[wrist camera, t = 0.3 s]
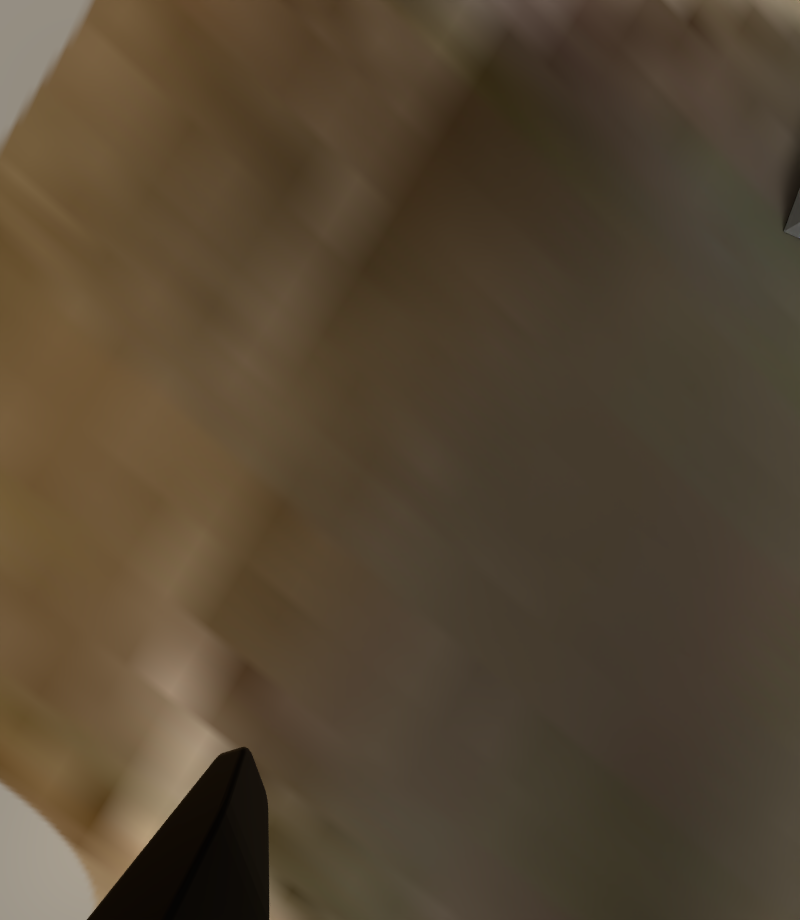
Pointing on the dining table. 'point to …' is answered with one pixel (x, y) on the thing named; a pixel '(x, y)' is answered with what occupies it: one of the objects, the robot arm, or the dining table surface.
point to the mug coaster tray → (794, 219)
